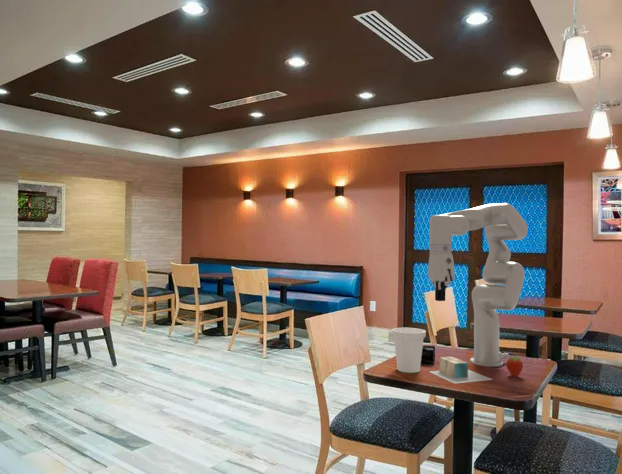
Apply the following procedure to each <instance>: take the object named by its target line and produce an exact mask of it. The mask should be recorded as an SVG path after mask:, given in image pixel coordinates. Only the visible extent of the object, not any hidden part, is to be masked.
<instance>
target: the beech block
mask: <svg viewBox="0 0 622 474" xmlns="http://www.w3.org/2000/svg"><path fill="white" fill-rule="evenodd" d="M468 368H469V363H468V362H467V361H465V360H462V359H459V358H457V357H454V356H441V357H439V371H441V372H443V373H446V374H448V375H450V376H452V377H455V378H462V377H468V370H469V369H468Z"/></svg>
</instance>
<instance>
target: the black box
mask: <svg viewBox="0 0 622 474" xmlns="http://www.w3.org/2000/svg"><path fill="white" fill-rule="evenodd" d="M435 362H436V346H435V345H423V348H422V356H421V365H420V366H423V365H424V366H435Z"/></svg>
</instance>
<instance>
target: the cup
mask: <svg viewBox="0 0 622 474" xmlns="http://www.w3.org/2000/svg"><path fill="white" fill-rule="evenodd" d="M391 329H392V330H391V331H392V332H391V335H392V336H393V340H394V349H395V350H394V351H395V358H396V368H397V371H399V372H400V373H404V374H416V373H420V372H421V366H422V365H421V356H422V348H423V346H424V339H425V338H426V335H427V334H426V333H427V331H426V329H422V328H416V327H394V328H391Z"/></svg>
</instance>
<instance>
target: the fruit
mask: <svg viewBox="0 0 622 474" xmlns="http://www.w3.org/2000/svg"><path fill="white" fill-rule="evenodd" d="M508 358H509V359H507V361H506V369H507V370H508V372H509V373H510V375H511V376H512V377H515V378H516V377H519V376H520V374H521V373H522V370H523V367H524V365H523V364H524V363H523V361H522V360H521V359H522V356H520V357H518V356H516V355H514V357H513V356H511V355H509V357H508Z"/></svg>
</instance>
